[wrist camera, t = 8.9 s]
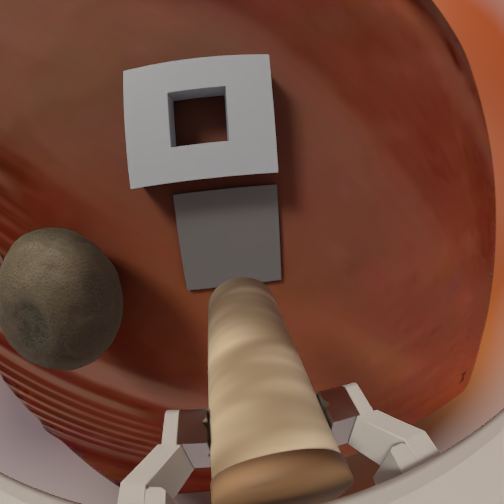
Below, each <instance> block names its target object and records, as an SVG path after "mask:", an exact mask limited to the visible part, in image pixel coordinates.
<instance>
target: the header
mask: <svg viewBox="0 0 504 504" xmlns="http://www.w3.org/2000/svg"><path fill="white" fill-rule="evenodd" d="M123 91H124V120H125V136H126V149H127V160H128V170H129V179H130V187H131V189H134V188H140V187H146V186H153V185H160V184H167V183H174V182H181V181H189V180H198V179H206V178H216V177H226V176H237V175H249V174H262V173H277V172H278V159H277V144H276V130H275V117H274V105H273V93H272V82H271V71H270V61H269V54H256V55H227V56H213V57H202V58H193V59H185V60H178V61H171V62H165V63H159V64H154V65H149V66H144V67H139V68H135V69H130V70H126V71H123ZM212 96H224V100H225V114H226V127H227V140H228V141H221V142H211V143H202V144H193V145H185V146H178V147H176V134H175V120H174V104H173V101H178V100H186V99H194V98H202V97H212Z"/></svg>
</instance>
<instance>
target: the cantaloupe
mask: <svg viewBox="0 0 504 504" xmlns="http://www.w3.org/2000/svg"><path fill="white" fill-rule="evenodd" d="M122 315H123V293H122V288H121V284H120V279H119V276H118V273H117V270H116V268H115V267H114V265H113V264H112V262H111V261H110V260H109V258H108V257H106V255H105V254H104V253H103V252H102V251H101V250H100V249H99V248H98V247H97V246H96V245H95V244H94V243H92V242H91V241H90V240H88V239H87V238H86V237H84V236H83V235H81V234H79V233H76V232H74V231H72V230H69V229H64V228H55V227H54V228H42V229H37V230H34V231H31V232H29V233H27V234H25V235H23V236H21V237H20V238H19V239H18V240H17V241H15V243H14V244H13V245H12V246H11V248H10V250H9V251H8V253H7V255H6V256H5V258H4V261H3V263H2V265H1V267H0V326H1V329H2V331H3V333H4V335H5V337H6V339H7V341H8V342H9V343H10V345H11V346H12V347H13V348H14V349H15V350H16V351H17V352H18V353H19V354H20V355H22V356H23V357H24V358H25V359H27V360H28V361H30V362H32V363H34V364H36V365H39V366H43V367H46V368H50V369H58V370H74V369H77V368H80V367H83V366H85V365H88V364H90V363H92V362H94V361H95V360H97V359H98V358H99V357H100V356H101V355H102V354H103V353H104V352H105V351H106V350H107V348H108V347H109V346H110V345H111V344H112V342H113V341H114V339H115V337H116V334H117V332H118V330H119V327H120V324H121V321H122Z"/></svg>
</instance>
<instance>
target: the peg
mask: <svg viewBox="0 0 504 504" xmlns="http://www.w3.org/2000/svg"><path fill="white" fill-rule="evenodd" d="M208 398H209V432H210V455H211V474H212V481H211V500H212V504H321V503H324V502H328V501H331V500H334V499H336V498H337V497H339V496H340V495H342V494H343V493H344V492H346V491H347V490H348V489H349V488H350V487H351V485H352V484H353V481H354V479H353V476H352V474H351V472H350V469H349V467H348V465H347V462H346V460H345V458H344V456H343V455H342V454H341V453H340V450H339V448H338V446H337V443H336V441H335V439H334V436H333V434H332V432H331V429H330V427H329V425H328V422H327V420H326V418H325V415H324V413H323V411H322V408H321V406H320V404H319V401H318V399H317V397H316V394H315V392H314V390H313V387H312V385H311V383H310V380H309V378H308V376H307V373H306V371H305V369H304V366H303V364H302V362H301V359H300V357H299V355H298V352H297V350H296V348H295V345H294V343H293V341H292V338H291V336H290V334H289V332H288V329H287V327H286V325H285V322H284V320H283V318H282V315H281V313H280V311H279V308H278V306H277V304H276V301H275V299H274V297H273V294H272V292H271V291H270V289H269V288H268V287H267V286H266V285H265V284H264V283H262V282H261V281H258V280H256V279H253V278H248V277H238V278H233V279H230V280H228V281H225V282H224V283H222V284H221V285H219V286H218V287H217V288H216V289H215V291H214V292H213V293H212V295H211V297H210V300H209V306H208Z"/></svg>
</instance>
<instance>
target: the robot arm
mask: <svg viewBox="0 0 504 504" xmlns="http://www.w3.org/2000/svg"><path fill="white" fill-rule="evenodd" d="M316 397H317V399H318V401H319V404H320V406H321V408H322V411H323V413H324V415H325V418H326V420H327V422H328V425H329V427H330V429H331V432H332V434H333V436H334V439H335V441H336V443H337V446H338V445H342V444H345V443H348V444H349V445H351V446H352V447H353V448H355V449H356V450H358V451H359V452H361V453H362V454H364V455H365V456H367V457H368V458H370V459H371V460H373V461H374V462H376V463H378V464H379V465H381V466H380V468H379V469H378V471H377V472H376V474H375V476H374V477H373V479H374V481H375V483H376V485H375V486H373V487H370V488H367V489H365V490H362V491H359V492H356V493H354V494H351V495H348V496H345V497H341V498H338V499H335V500H331V501H328V502H324V503H321V504H504V409H502V410H501V411H500V412H499V413H498V414H497V415H495V416H494V417H493V418H491V419H490V420H489V421H488V422H486V423H485V424H484V425H482V426H481V427H480V428H478V429H477V430H476V431H474V432H473V433H471V434H470V435H469V436H467V437H466V438H464V439H463V440H461V441H460V442H458V443H457V444H455V445H453V446H452V447H451V448H449V449H447V450H446V451H444V452H442V453H439V451H438V450H437V448H436V447H435V445H434V444H433V442H432V441H431V440H430V438H429V436H428V435H427V434H426V432H425V431H423V430H421V429H419V428H416V427H414V426H412V425H409V424H407V423H405V422H403V421H400V420H398V419H396V418H394V417H392V416H389V415H387V414H385V413H383V412H381V411H379V410H374V411H373V409H372V407H371V406H370V404H369V402H368V401H367V399H366V397H365V396H364V394H363V393H362V391H361V389H360V388H359V386H358V384H357V383H351V384H347V385H344V386H339V387H335V388H331V389H328V390H324V391H319V392H318V393H317V395H316ZM201 467H211V455H210V432H209V412H208V409H192V410H167V411H166V413H165V418H164V426H163V435H162V445H157V446H156V447H155V448H154V449H153V450H152V451H151V452H150V453H149V454H148V455H147V456H146V457H145V458H144V459H143V461H142V462H141V463H140V464H139V465H138V466H137V467H136V468H135V469H134V470H133V471H132V472H131V473H130V474H129V475H128V476H127V477H126V478H125V479H124V480H123V481H122V482H121V484H120V491H119V498H118V504H177V503H176V502H175V500H174V497H175V496H176V495H177V493H178V492H179V490H180V489H181V487H182V486H183V484H184V483H185V482H186V480H187V479H188V477H189V476H190V474H191V473H192V471H193V470H194V469H193V468H201ZM0 504H80V503H77V502H73V501H70V500H67V499H64V498H60V497H57V496H55V495H52V494H49V493H46V492H43V491H41V490H38V489H36V488H33V487H31V486H28V485H26V484H23V483H21V482H19V481H17V480H15V479H13V478H11V477H9V476H7V475H5V474H3V473H0Z"/></svg>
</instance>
